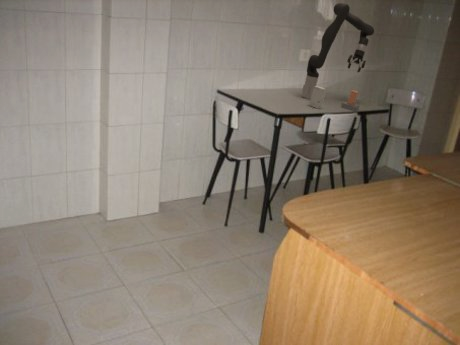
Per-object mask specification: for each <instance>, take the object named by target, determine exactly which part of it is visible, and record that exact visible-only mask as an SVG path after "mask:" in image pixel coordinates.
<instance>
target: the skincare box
mask: <svg viewBox="0 0 460 345" xmlns="http://www.w3.org/2000/svg"><path fill="white" fill-rule="evenodd" d="M327 90H328V89H327V88H325V87H322V86H320V85H316V86H314V89H313V92H312V96H311V99H309V103H308V106H309V107H313V108H316V109H322V107H323V104H324V100H325V96H326V93H327Z"/></svg>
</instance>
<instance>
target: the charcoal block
mask: <svg viewBox="0 0 460 345" xmlns="http://www.w3.org/2000/svg"><path fill="white" fill-rule="evenodd" d="M340 107H341V109H346V110H348V111H352V112H357V111H359V109H360V104H358V103H355V104H354V105H351V104H348V100H347V101H344V102H341V106H340Z"/></svg>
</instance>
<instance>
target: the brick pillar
mask: <svg viewBox="0 0 460 345" xmlns="http://www.w3.org/2000/svg"><path fill="white" fill-rule="evenodd" d="M358 95H359V91H357V90H355V89H354V90H353V89H352V90H351V91H350V94H349V97H348V100H347V102H348V104H351V105H354V104H356V102H357V98H358Z"/></svg>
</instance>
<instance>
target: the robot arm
mask: <svg viewBox="0 0 460 345" xmlns="http://www.w3.org/2000/svg"><path fill="white" fill-rule="evenodd" d="M350 9H351V8H350V6H349V4H348V3H342V2H340V3H339V2H338V3H336V4H335V5H334V6H333V14H334V15H335V16H336V17H335V19H334V20H333V21H332V23H331V24H329V25H328V26H327V28H326V29H325V31H324V33H323V35H322V37H321V48H320V51H319V53H318V55H317V54H312V55H311V56H310V57H309V59H308V62H307V68H306V78H305V80H304V84H303V86H302V89H301V90H302V91H301V95H300V96H301V97H302V98H304V99H308V100H310V99H311V96H312V92H313V89H314V86H318V85H317V84H318V80H319V76H320V74H319V72H318V70H319V69H322V68H323V66H324V65H325V63H326V60H327V57H328V54H329V51H330V50H331V47H332V45H333V43H334V41H335V40H336V38H337V36H338V33H339V31H340V29H341V27H342V26H343V23H344V22H345V21H346V22H348V23H349V24H351V26H353V27H354V28H355V29H357V30H358V31H360V34H359V41H358V43H357V46H356V48H355V51H354V53H353V55H352V54H350V55H349V56H348V59H347V63H348V65H347V69H351V66H352V63H354V64H357V65H358V68H357V70H356V72H357V73H360V72H361V70H362V69H364V68H365V65H366V62H367V60H363V58H364V56H365V53H366V51H367V46H368V44H369V39H368V38H367V37H368V36H369V37H371V36H372V35H374V33H375V28H374V27H373V26H372V25H370V24H369V23H366V22H365V21H363V19H361V18H360V17H359V16H357V15H355V14H353V13H351V12H350ZM351 59H352V60H351Z"/></svg>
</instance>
